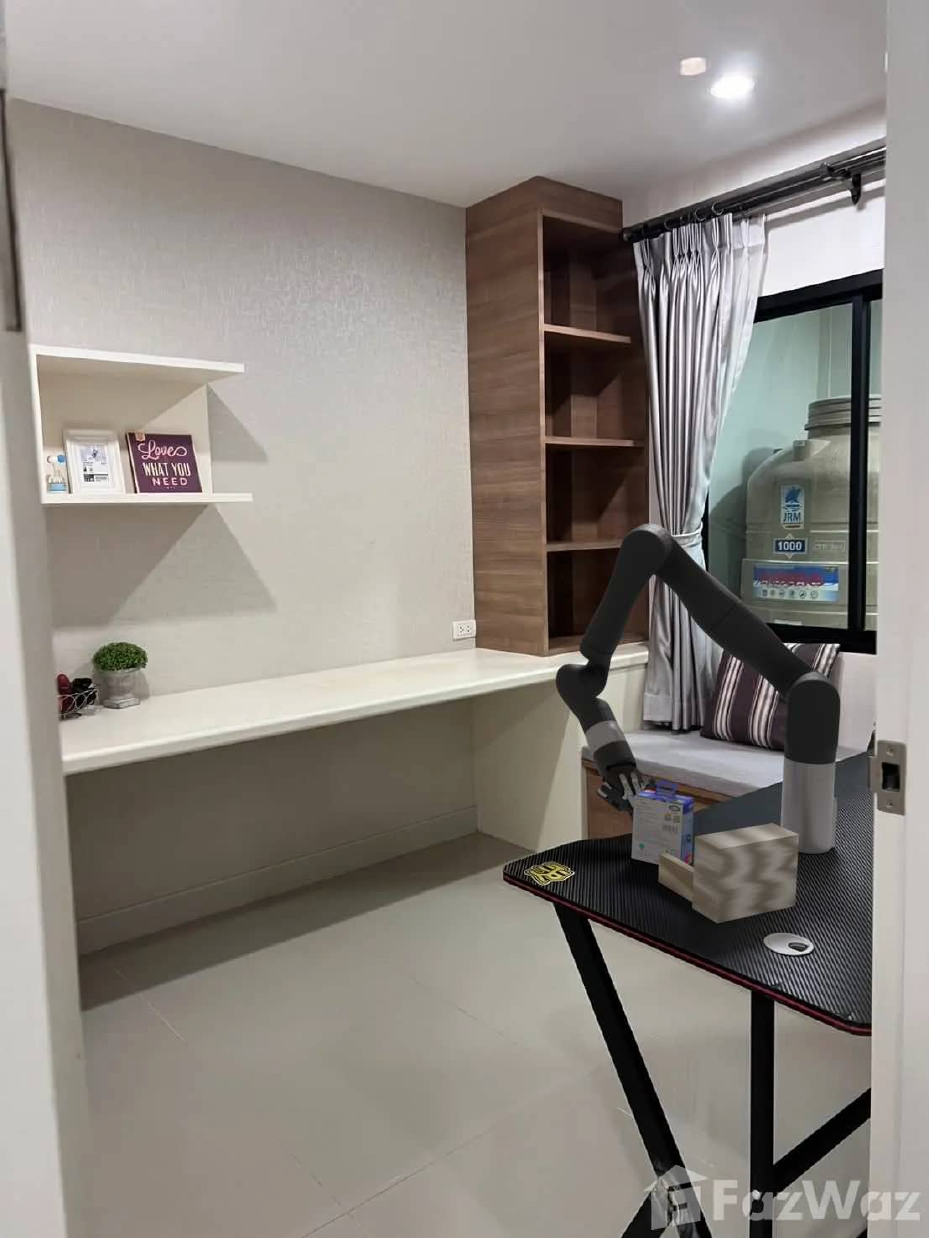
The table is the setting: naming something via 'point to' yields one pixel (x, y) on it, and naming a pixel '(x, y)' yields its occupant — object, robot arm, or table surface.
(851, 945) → the table surface
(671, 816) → the ink cartridge box
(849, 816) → the table surface
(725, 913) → the cartridge dock
